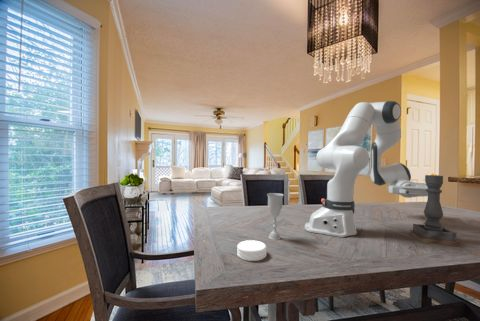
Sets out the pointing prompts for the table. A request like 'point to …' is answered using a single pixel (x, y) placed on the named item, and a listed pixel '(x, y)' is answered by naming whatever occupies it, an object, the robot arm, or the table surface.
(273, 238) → the chalice
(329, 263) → the table surface
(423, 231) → the socket base
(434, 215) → the candle holder
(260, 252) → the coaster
